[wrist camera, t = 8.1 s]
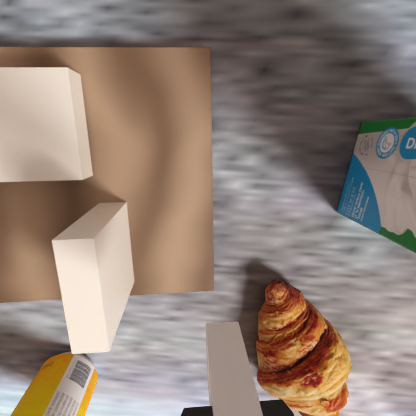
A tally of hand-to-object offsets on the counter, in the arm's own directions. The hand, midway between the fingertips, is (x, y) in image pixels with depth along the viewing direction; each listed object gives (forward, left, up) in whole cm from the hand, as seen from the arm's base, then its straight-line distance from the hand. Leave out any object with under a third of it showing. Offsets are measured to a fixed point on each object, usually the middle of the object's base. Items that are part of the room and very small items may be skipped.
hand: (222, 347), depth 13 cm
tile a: (-10, +10, -13) cm, 19 cm away
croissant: (+10, -15, -16) cm, 24 cm away
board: (-12, +5, -15) cm, 20 cm away
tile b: (-8, 0, -14) cm, 16 cm away
